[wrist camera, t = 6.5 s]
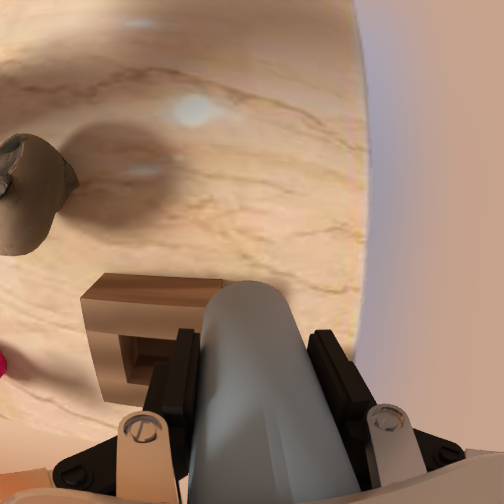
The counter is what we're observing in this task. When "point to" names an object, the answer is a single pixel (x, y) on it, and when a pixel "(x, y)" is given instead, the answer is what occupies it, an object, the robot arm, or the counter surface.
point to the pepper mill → (2, 365)
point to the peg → (261, 408)
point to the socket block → (139, 327)
